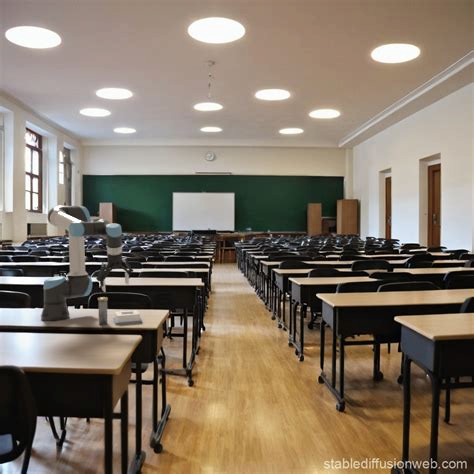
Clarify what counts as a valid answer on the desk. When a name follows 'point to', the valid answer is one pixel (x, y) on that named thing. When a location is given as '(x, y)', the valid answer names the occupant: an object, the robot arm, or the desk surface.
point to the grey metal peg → (102, 310)
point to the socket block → (127, 317)
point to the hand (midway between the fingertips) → (115, 287)
